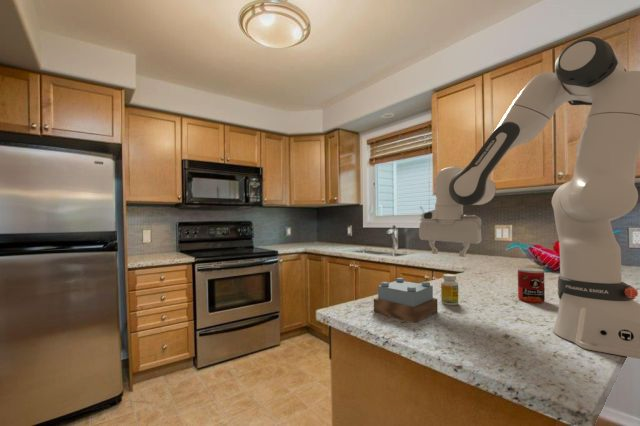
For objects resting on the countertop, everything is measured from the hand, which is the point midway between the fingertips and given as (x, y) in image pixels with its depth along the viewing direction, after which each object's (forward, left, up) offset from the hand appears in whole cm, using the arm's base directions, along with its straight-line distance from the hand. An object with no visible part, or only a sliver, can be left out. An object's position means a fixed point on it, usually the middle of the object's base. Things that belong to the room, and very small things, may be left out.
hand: (448, 254), depth 103 cm
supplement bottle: (0, 0, -17) cm, 17 cm away
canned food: (-19, -23, -17) cm, 34 cm away
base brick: (+6, +19, -16) cm, 26 cm away
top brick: (+6, +19, -12) cm, 23 cm away
